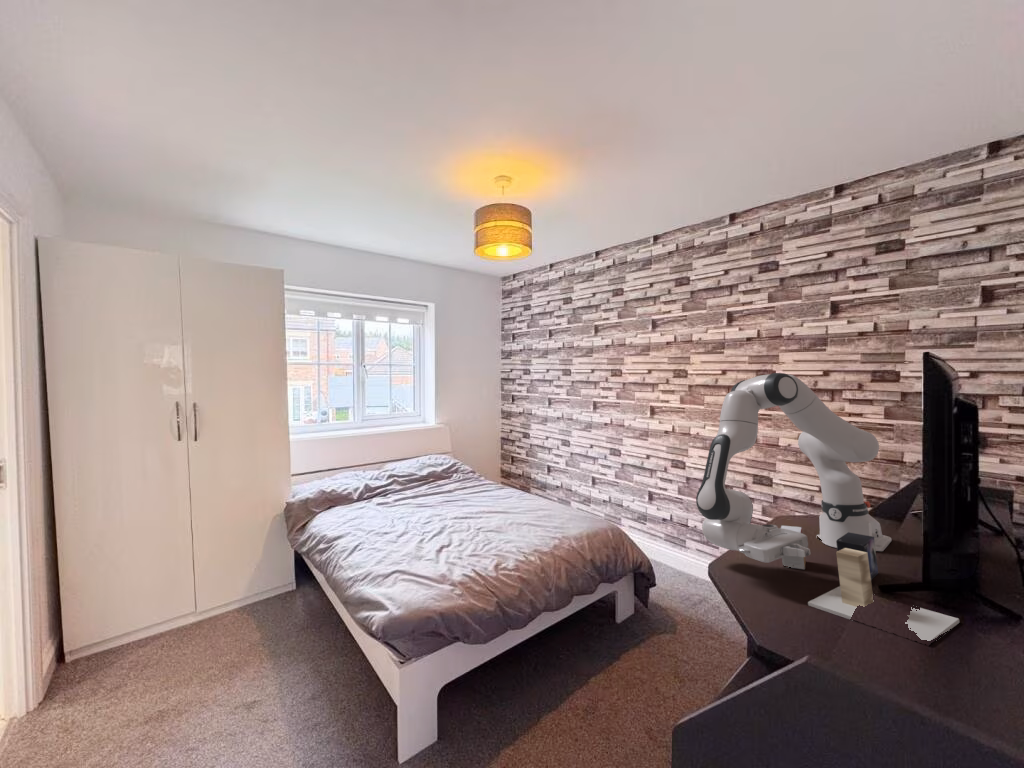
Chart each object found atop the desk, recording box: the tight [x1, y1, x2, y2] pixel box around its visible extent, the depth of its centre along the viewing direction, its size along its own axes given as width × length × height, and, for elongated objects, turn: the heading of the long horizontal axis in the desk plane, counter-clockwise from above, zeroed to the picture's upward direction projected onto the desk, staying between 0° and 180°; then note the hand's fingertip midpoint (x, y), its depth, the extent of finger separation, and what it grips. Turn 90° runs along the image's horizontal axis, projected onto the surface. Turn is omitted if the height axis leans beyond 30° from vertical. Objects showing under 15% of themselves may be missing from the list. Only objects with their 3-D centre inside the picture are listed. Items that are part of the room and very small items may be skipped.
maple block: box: [835, 548, 874, 607], centre depth 101 cm, size 4×4×12 cm
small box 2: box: [836, 532, 879, 581], centre depth 117 cm, size 11×6×10 cm, turn 127°
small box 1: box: [780, 525, 807, 570], centre depth 128 cm, size 8×6×10 cm
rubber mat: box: [807, 585, 960, 641], centre depth 97 cm, size 16×22×1 cm
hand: (807, 553), depth 110 cm, fingers closed
